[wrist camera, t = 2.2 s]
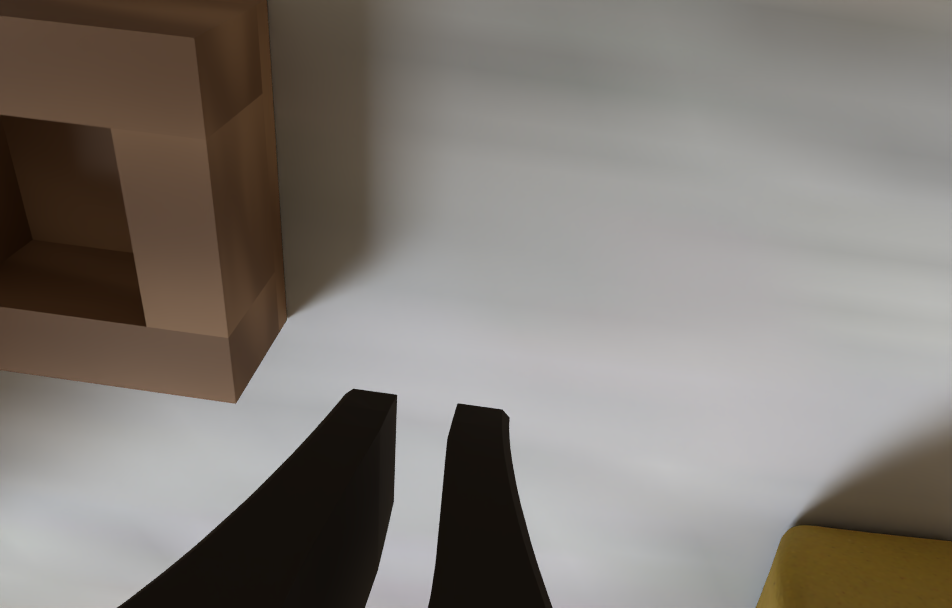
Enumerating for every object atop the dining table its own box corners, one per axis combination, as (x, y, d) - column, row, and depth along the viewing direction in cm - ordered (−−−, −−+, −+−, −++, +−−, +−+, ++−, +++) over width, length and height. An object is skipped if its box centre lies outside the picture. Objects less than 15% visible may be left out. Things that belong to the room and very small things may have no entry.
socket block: (286, 319, 20) (236, 403, 17) (-3, 280, 21) (-101, 355, 18) (267, -1, 16) (193, 37, 13) (-98, -41, 16) (-248, -13, 13)
